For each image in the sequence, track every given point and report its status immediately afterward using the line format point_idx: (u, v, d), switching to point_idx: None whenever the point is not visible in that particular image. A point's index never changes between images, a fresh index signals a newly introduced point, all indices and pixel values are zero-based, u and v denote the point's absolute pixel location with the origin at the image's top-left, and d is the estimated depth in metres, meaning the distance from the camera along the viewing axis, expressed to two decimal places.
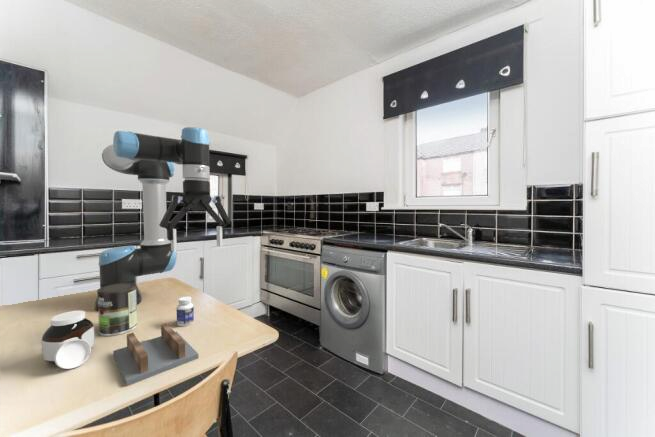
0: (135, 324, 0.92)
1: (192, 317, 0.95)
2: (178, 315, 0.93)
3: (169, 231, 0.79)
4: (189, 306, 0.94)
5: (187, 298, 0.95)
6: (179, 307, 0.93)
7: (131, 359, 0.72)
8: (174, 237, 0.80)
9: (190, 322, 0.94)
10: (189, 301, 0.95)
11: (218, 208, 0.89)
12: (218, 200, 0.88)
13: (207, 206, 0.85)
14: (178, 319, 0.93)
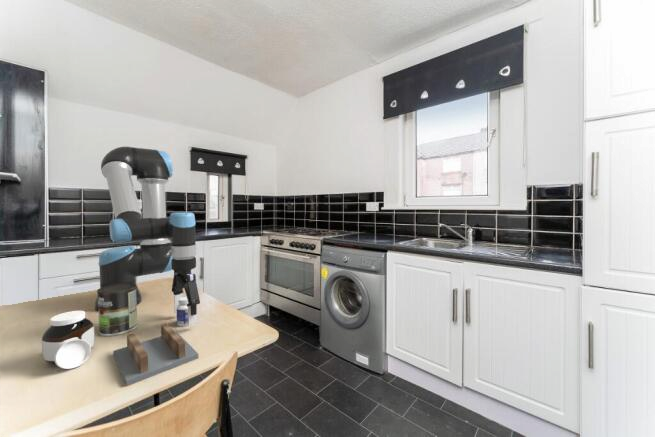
0: (135, 324, 0.92)
1: None
2: (178, 315, 0.93)
3: None
4: None
5: None
6: (179, 307, 0.93)
7: (131, 359, 0.72)
8: (174, 301, 0.99)
9: None
10: None
11: None
12: (187, 279, 0.89)
13: (181, 283, 0.92)
14: (178, 319, 0.93)
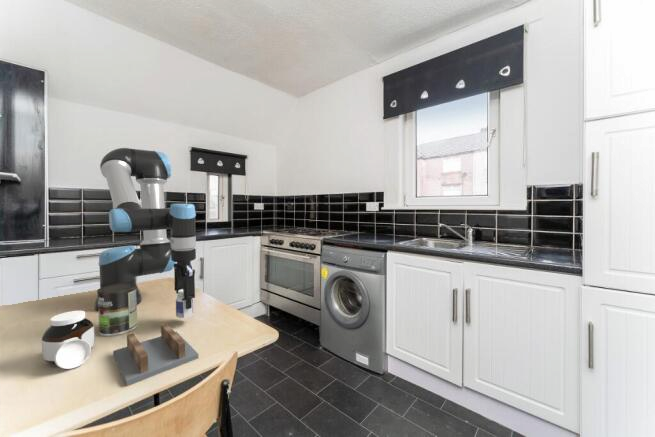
0: (135, 324, 0.92)
1: None
2: (177, 307, 0.93)
3: None
4: None
5: None
6: (178, 299, 0.93)
7: (131, 359, 0.72)
8: None
9: None
10: None
11: None
12: (186, 274, 0.90)
13: (180, 274, 0.92)
14: (177, 311, 0.93)
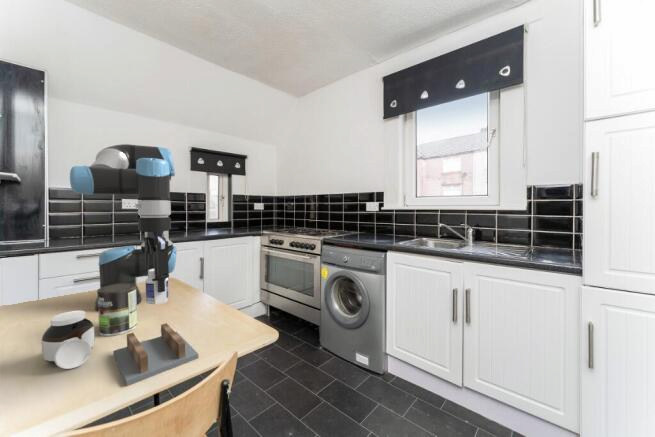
0: (135, 324, 0.92)
1: (166, 293, 0.76)
2: (147, 290, 0.73)
3: None
4: None
5: None
6: (149, 280, 0.73)
7: (131, 359, 0.72)
8: None
9: None
10: None
11: None
12: (156, 246, 0.70)
13: (150, 248, 0.73)
14: (147, 296, 0.73)
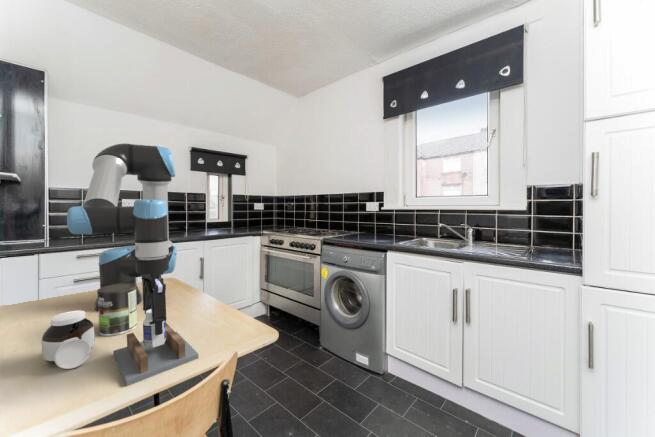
0: (135, 324, 0.92)
1: (164, 334, 0.75)
2: (145, 332, 0.72)
3: None
4: None
5: None
6: (146, 322, 0.72)
7: (131, 359, 0.72)
8: None
9: None
10: None
11: None
12: (154, 290, 0.69)
13: (147, 290, 0.72)
14: (144, 338, 0.72)
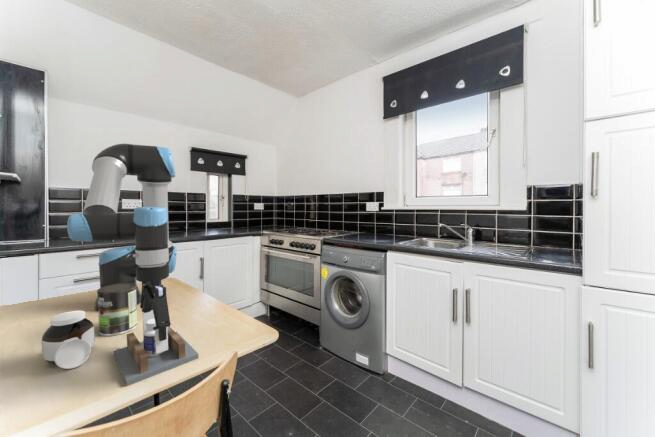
0: (135, 324, 0.92)
1: None
2: (145, 343, 0.73)
3: None
4: None
5: None
6: (146, 332, 0.73)
7: (131, 359, 0.72)
8: (143, 321, 0.78)
9: None
10: None
11: None
12: (154, 294, 0.69)
13: (148, 297, 0.71)
14: (145, 348, 0.73)
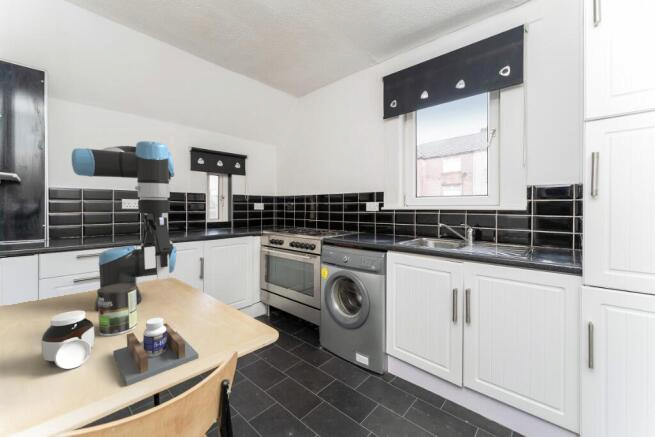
0: (135, 324, 0.92)
1: (164, 344, 0.75)
2: (145, 343, 0.73)
3: None
4: (160, 331, 0.74)
5: (157, 320, 0.74)
6: (146, 332, 0.73)
7: (131, 359, 0.72)
8: (144, 255, 0.82)
9: (161, 351, 0.74)
10: (160, 324, 0.74)
11: None
12: (156, 223, 0.72)
13: (150, 228, 0.75)
14: (145, 348, 0.73)
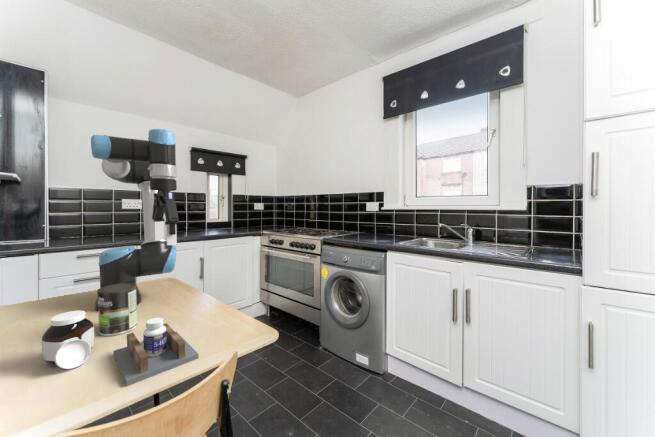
0: (135, 324, 0.92)
1: (164, 344, 0.75)
2: (145, 343, 0.73)
3: None
4: (160, 331, 0.74)
5: (157, 320, 0.75)
6: (146, 332, 0.73)
7: (131, 359, 0.72)
8: (154, 228, 0.95)
9: (161, 351, 0.74)
10: (160, 324, 0.74)
11: None
12: (165, 197, 0.85)
13: (160, 203, 0.88)
14: (145, 348, 0.73)
